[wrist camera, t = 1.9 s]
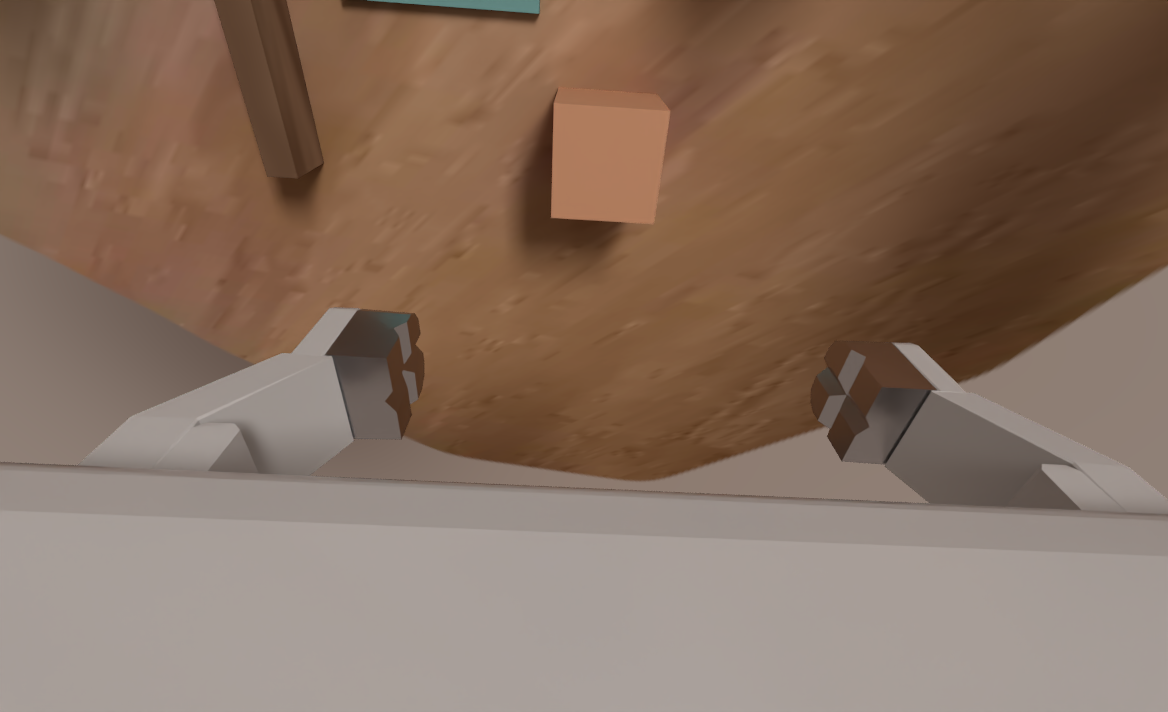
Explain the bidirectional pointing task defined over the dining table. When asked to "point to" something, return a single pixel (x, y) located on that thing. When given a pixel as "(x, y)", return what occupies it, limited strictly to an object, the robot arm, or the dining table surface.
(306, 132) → the wooden l-shaped wall
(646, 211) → the cube
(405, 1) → the pad
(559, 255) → the dining table surface
